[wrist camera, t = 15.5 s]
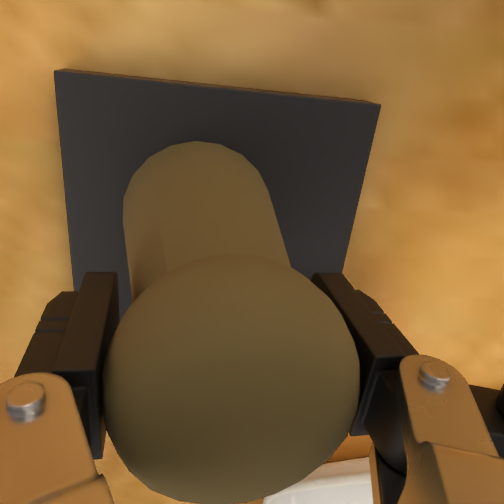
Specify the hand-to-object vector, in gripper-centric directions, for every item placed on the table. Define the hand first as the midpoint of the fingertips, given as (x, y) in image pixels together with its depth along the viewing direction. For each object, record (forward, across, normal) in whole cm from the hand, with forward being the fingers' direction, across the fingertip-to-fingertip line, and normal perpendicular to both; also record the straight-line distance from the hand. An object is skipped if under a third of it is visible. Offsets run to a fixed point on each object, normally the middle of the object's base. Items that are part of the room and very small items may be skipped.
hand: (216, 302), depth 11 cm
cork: (+7, 0, 0) cm, 7 cm away
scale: (+8, -1, +2) cm, 8 cm away
